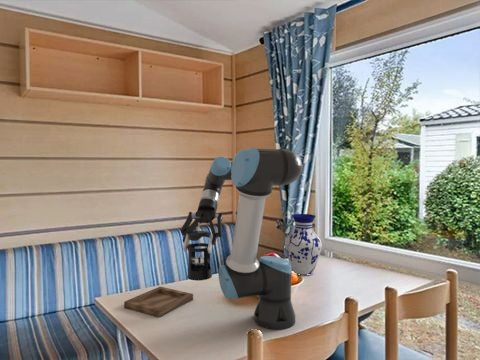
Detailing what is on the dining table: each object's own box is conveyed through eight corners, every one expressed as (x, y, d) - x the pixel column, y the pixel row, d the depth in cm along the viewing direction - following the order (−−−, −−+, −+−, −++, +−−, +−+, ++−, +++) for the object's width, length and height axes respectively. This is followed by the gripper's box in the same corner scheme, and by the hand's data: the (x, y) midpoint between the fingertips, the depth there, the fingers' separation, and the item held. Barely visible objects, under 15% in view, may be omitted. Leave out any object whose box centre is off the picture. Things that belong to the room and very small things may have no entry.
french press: (217, 277, 147) (217, 217, 146) (197, 282, 141) (196, 220, 140) (200, 270, 156) (199, 213, 155) (180, 275, 150) (179, 216, 149)
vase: (321, 279, 191) (322, 219, 189) (282, 276, 195) (283, 217, 193) (321, 268, 210) (322, 213, 208) (285, 266, 213) (286, 212, 212)
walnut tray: (193, 299, 162) (193, 293, 162) (159, 317, 144) (159, 310, 144) (159, 292, 171) (159, 286, 171) (124, 307, 153) (124, 301, 153)
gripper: (235, 209, 160) (226, 257, 145) (185, 207, 164) (171, 254, 150) (233, 198, 154) (223, 246, 140) (181, 196, 159) (166, 243, 144)
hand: (196, 250), depth 145 cm, fingers closed on french press, 9 cm apart
